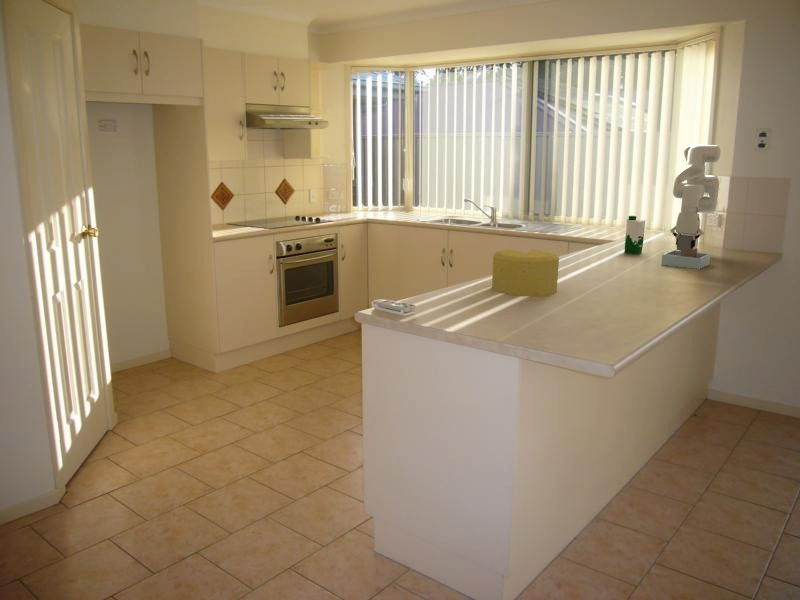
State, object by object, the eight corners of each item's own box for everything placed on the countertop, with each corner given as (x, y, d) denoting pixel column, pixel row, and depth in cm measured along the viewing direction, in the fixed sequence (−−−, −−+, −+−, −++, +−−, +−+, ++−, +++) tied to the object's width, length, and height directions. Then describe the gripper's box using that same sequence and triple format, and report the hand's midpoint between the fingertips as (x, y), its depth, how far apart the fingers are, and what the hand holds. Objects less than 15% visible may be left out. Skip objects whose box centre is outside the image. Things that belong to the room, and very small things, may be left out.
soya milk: (627, 251, 382) (630, 215, 378) (644, 252, 377) (647, 216, 372) (622, 253, 375) (625, 216, 371) (638, 254, 370) (642, 217, 365)
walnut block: (683, 260, 349) (685, 247, 347) (695, 262, 345) (697, 248, 344) (679, 262, 344) (681, 248, 343) (692, 263, 341) (693, 249, 339)
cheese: (512, 280, 297) (514, 246, 293) (568, 289, 281) (570, 253, 277) (479, 289, 277) (481, 253, 274) (537, 299, 261) (539, 261, 258)
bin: (672, 260, 354) (673, 250, 353) (709, 264, 343) (710, 254, 342) (661, 264, 340) (662, 254, 339) (699, 269, 329) (700, 258, 328)
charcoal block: (680, 248, 341) (681, 234, 339) (692, 250, 337) (694, 235, 336) (676, 249, 336) (678, 235, 335) (689, 251, 332) (691, 236, 331)
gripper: (710, 211, 330) (705, 248, 334) (673, 208, 340) (669, 244, 344) (705, 212, 324) (701, 250, 328) (668, 209, 335) (664, 246, 339)
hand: (685, 246), depth 336 cm, fingers closed on charcoal block, 6 cm apart
